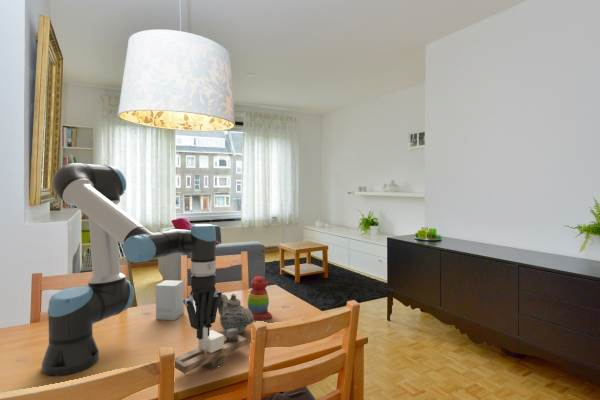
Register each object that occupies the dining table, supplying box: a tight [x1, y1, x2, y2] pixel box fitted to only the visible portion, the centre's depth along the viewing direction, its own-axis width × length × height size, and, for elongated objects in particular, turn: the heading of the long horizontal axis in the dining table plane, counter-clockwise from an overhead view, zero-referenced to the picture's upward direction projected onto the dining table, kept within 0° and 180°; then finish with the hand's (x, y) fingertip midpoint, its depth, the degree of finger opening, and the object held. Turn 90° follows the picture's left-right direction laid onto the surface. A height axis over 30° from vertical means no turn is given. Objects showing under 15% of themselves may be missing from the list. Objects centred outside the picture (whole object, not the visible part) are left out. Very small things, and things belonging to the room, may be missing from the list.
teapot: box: [217, 293, 255, 335], centre depth 136 cm, size 21×12×15 cm, turn 48°
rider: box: [204, 329, 225, 353], centre depth 110 cm, size 5×6×6 cm
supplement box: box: [155, 279, 185, 321], centre depth 150 cm, size 9×9×15 cm
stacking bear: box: [247, 275, 273, 321], centre depth 152 cm, size 11×10×18 cm
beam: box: [174, 328, 248, 375], centre depth 111 cm, size 24×7×8 cm, turn 141°
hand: (203, 347), depth 108 cm, fingers closed
